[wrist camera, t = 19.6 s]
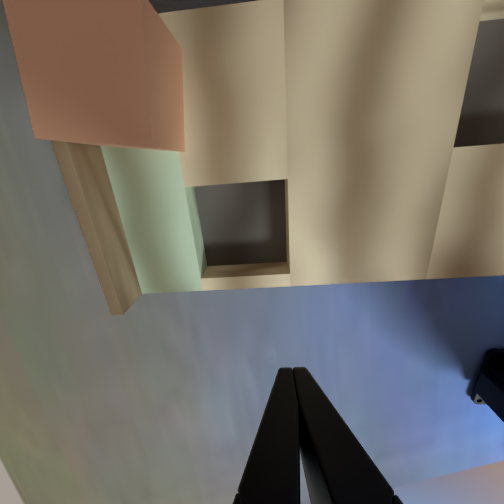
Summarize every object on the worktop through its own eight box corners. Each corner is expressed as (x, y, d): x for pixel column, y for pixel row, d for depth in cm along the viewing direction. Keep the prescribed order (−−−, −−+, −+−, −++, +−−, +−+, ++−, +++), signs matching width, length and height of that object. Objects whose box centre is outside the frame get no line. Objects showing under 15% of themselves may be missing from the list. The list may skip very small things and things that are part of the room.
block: (182, 49, 12) (140, -11, 8) (185, 152, 14) (152, 147, 10) (87, 42, 12) (-4, -22, 8) (102, 146, 14) (35, 138, 10)
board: (617, -17, 12) (830, -125, 8) (519, 259, 18) (609, 292, 13) (84, 48, 14) (-1, -8, 10) (146, 279, 20) (111, 314, 15)
